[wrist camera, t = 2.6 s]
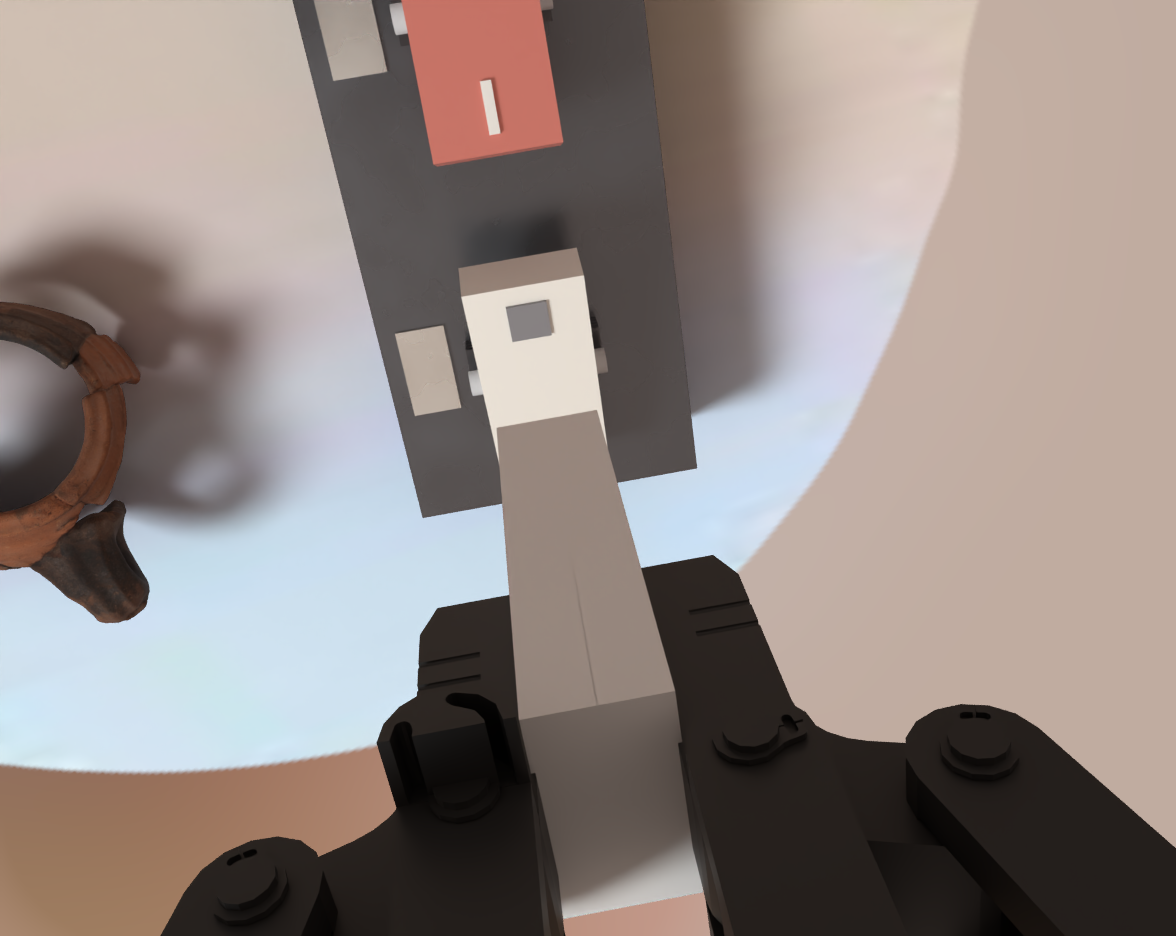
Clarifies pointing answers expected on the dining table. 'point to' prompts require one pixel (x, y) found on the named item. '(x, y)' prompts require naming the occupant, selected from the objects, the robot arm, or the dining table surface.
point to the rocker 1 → (481, 76)
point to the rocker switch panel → (507, 234)
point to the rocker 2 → (532, 338)
